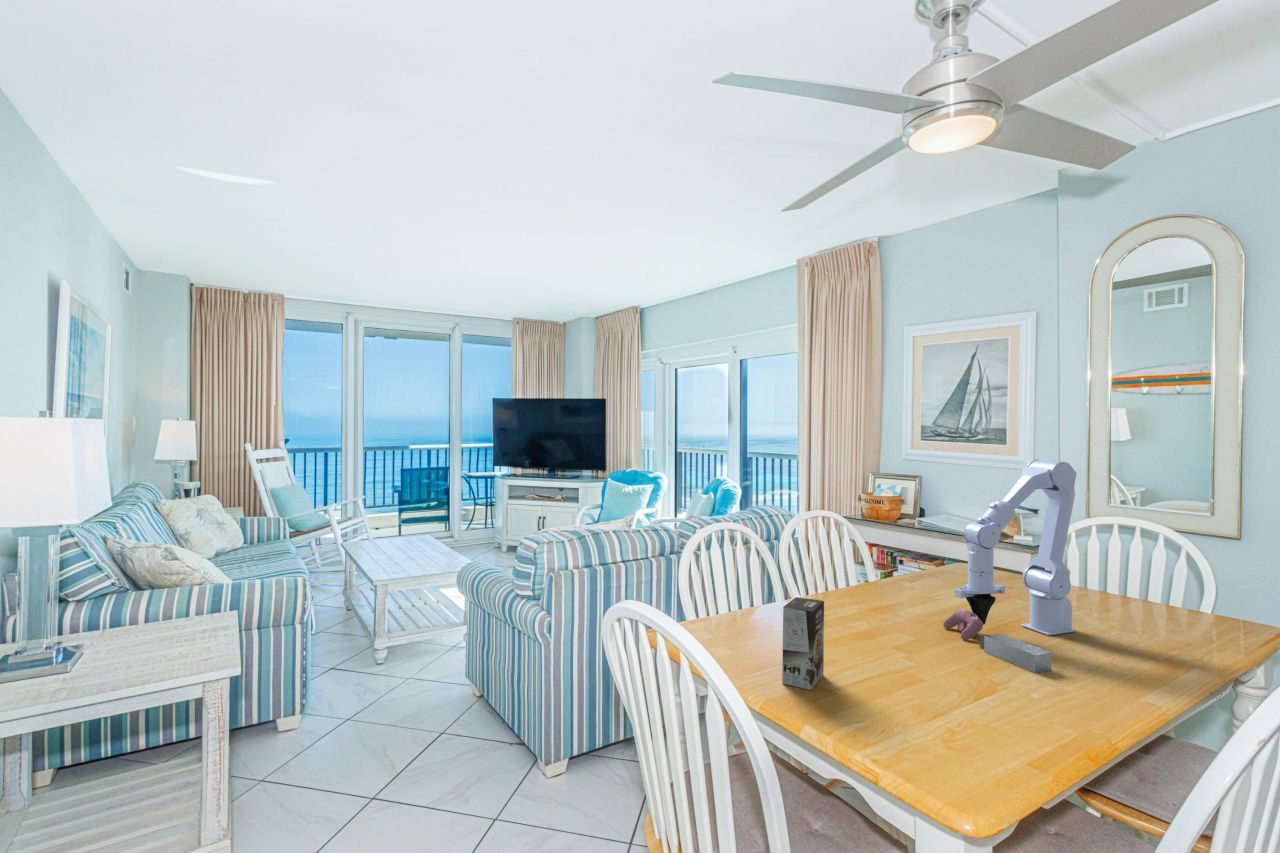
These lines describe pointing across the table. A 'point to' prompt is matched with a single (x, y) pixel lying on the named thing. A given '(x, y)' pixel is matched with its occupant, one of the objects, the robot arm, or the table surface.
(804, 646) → the coffee box
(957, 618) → the video game controller
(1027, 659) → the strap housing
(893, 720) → the table surface
